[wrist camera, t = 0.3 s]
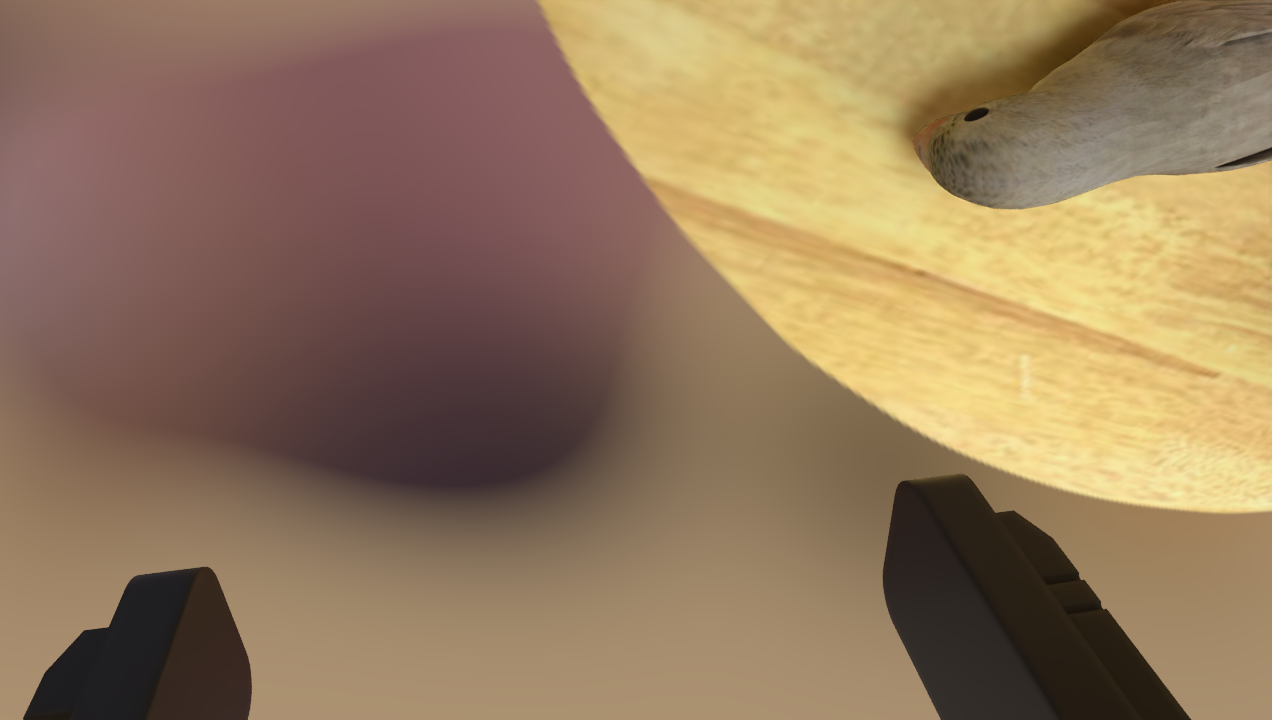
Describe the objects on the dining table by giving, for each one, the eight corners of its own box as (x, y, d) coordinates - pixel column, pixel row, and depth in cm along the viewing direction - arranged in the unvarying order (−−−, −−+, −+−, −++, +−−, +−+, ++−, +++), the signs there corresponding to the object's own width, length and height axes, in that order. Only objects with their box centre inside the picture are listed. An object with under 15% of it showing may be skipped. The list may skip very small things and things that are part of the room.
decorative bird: (891, 71, 32) (997, 139, 25) (1339, -89, 31) (1561, -60, 25) (911, 208, 35) (1011, 300, 28) (1322, 63, 34) (1516, 123, 28)
